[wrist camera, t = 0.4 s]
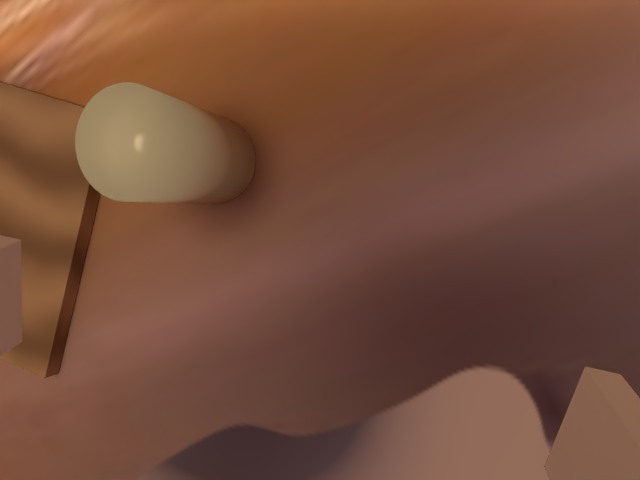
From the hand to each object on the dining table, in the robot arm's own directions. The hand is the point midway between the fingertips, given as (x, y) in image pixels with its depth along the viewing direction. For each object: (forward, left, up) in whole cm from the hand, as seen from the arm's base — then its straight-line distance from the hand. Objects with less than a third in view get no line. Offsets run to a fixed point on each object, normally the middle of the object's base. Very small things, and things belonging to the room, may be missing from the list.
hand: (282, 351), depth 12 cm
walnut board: (+7, -31, -24) cm, 40 cm away
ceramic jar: (-3, -15, -24) cm, 29 cm away
